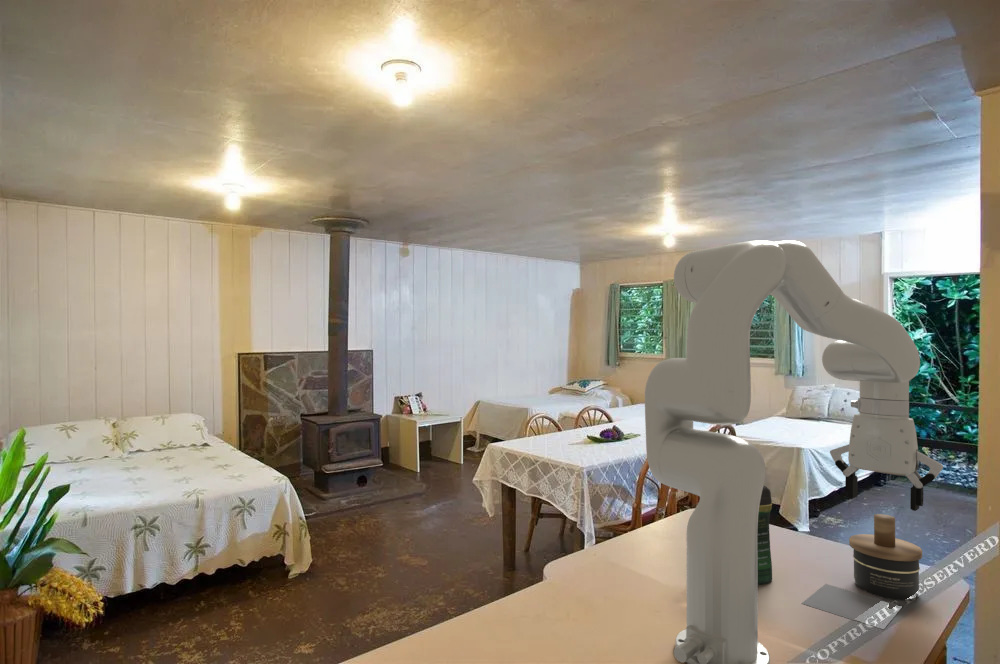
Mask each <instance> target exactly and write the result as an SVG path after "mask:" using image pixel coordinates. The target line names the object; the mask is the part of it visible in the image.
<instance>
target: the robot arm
mask: <svg viewBox="0 0 1000 664" xmlns="http://www.w3.org/2000/svg"><path fill="white" fill-rule="evenodd" d="M673 283H674V287H675V288H676V291H677V292H678V294H679V295H680V296H681V297H682V298H683V299H685V300H686V301H687V302H690V303H694V307H693V309H692V310H691V313H690V315H689V317H688V318H689V319H688V321H687V329H686V330H687V332H686V333H687V334H686V337H687V339H686V357H671V358H666V359H664V360H661V361H660V362H658V363H657V364H656V365H655V366H654V367H653V368H652V370H651V371H650V373H649V375H648V378H647V380H646V384H645V388H644V416H645V418H644V421H645V422H644V423H645V425H644V426H645V448H646V460H647V464H648V468H649V470H650V473H651V475H652V476H653V477H654V478H655V480H657V481H658V483H659V482H660V483H661V484H663V485H665V486H667V487H670V488H673V489H676V490H679V491H683V492H687V493H689V494H692V495H695V496H697V497H699V501H698V503H697V505H696V507H695V508H694V510H693V512H692V513H691V515H690V516H689V518H688V521H687V526H686V628H685V629H683V630H681V631H680V632H678V634H677V635H676V637H675V647H674V649H673V655H674V658H675V659H676V660H677V661H678V662H679V663H686V664H771V657H770V653H769V652H768V649H767V648H766V647H765V646H764V645H763V644H762V643H761V642H760V641H758V639H759V637H758V636H759V633H758V629H759V627H758V626H759V625H758V623H759V622H758V618H759V617H758V616H759V615H758V608H759V607H758V603H759V601H758V600H759V599H758V597H759V596H758V593H759V592H758V590H759V589H758V586H759V585H758V580H757V561H758V559H757V528H758V513H759V505H760V499H761V494H762V490H763V486H765V478H766V463H765V460H764V456H763V454H762V453H761V452H760V450H759V449H758V448H757V446H755V445H754V444H753V443H751V442H750V441H748V440H747V439H744V438H742V437H739V436H736V435H732V434H726V433H721V432H715V431H709V430H700V429H694V422H696V423H702V424H710V425H717V426H719V425H720V426H730V425H736V424H738V423H741V422H743V421H744V420H745V419H746V418H747V416H748V414H749V412H750V408H751V402H752V401H751V399H752V381H751V379H752V378H751V348H750V346H751V345H750V344H751V342H750V340H751V339H750V338H751V329H752V328H751V327H752V323H753V319H754V317H755V315H756V313H757V312H758V310H759V308H760V306H761V305H762V304H763V303H764V301H765V300H766V299H767V298H768V297H769V296H772V297H774V299H775V300H776V301H777V302H778V303H779V304H780V306H781V307H782V308H783V309H784V310H785V311H786V312H787V314H788V315H789V317H791V319H792V320H793V321H794V322H795V323H796V325H797V326H798V327H800V329H802V330H804V331H806V332H809V333H811V334H814V335H817V336H820V337H822V338H823V337H824V338H828V339H832V340H835V341H832V342H830V343H829V344H828V345H826V347H825V348H824V350H823V352H822V356H821V357H822V358H821V360H822V366H823V368H824V370H825V371H826V373H827V374H829V375H830V376H831V377H833V378H835V379H838V380H842V381H851V382H859V397H858V399H855V400H853V399H852V400H851V401H850V407H851V408H855V409H857V412H859V413H857V414H853V417H852V421H851V426H850V427H851V428H850V436H849V442H848V443H849V444H845V445H842V446H840V447H836V448H833V449H831V450H830V451H829V454H830V456H831V458H832V459H833V462H834V465H835V466H836V467H837V468H838V469H839V470H840V471H841V472H842V474H843V476H844V477H845V486H844V487H845V493H847V496H848V497H847V498H848V499H850V500H852V499H855V498H857V497H858V485H859V484H858V482H859V481H858V480H859V479H858V476H857V475H856V473H857V472H858V471H859V470H864V471H869V472H876V473H882V474H886V475H887V474H890V475H894V476H895V475H896V476H905V477H906V478H907V479H908V481H910V482H911V484H912V486H911V487H910V505H909V506H910V507H909V508H910V510H911V511H914V512H915V511H918V510H919V509H920V507H923V505H924V487H925V486H926V485H928V484H929V483H932V481H935V480H936V479H937V477H938V476H939V474H940V473H941V471H942V470H943V468H944V465H943V464H942V463H940V462H938V461H937V460H935V459H933V458H931V457H929V456H928V455H926V454H924V453H923V452H920V451H919V447H918V439H917V429H916V426H915V422H914V419H913V418H912V417H911V418H910V381H912V379H914V378H915V377H916V375H917V374H918V372H919V370H920V367H921V359H920V354H919V351H918V347H917V345H916V344H915V342H914V340H913V339H912V337H911V336H910V335H909V333H908V332H907V331H906V328H904V326H903V325H902V323H900V322H899V321H898V320H897V319H896V318H894V317H893V316H891V315H890V314H888V313H886V312H884V311H882V310H880V309H878V308H877V307H874V306H872V305H869V304H867V303H865V302H863V301H861V300H858V299H856V298H853V297H851V296H848V295H846V294H845V292H844V291H843V290H842V289H841V287H840V286H839V285H838V284H837V282H836V281H835V279H834V278H833V277H832V275H831V274H830V273H829V272H828V269H826V268H825V266H824V264H823V263H822V262H821V261H820V259H819V258H818V257H817V256H816V254H815V253H814V252H813V251H812V249H811V248H810V247H809V246H808V245H806V244H805V243H803V242H801V241H797V240H789V239H788V240H777V241H771V240H750V241H749V240H748V241H743V242H736V243H730V244H725V245H721V246H716V247H715V246H714V247H710V248H705V249H704V248H703V249H699V250H695V251H691V252H689V253H686V254H684V255H683V256H682V257H681V258H680V260H679V261H678V262H677V264H676V266H675V268H674V272H673ZM845 453H847V454H848V457H847V458H848V464H847V462H845V461H844V459H843V457H842V455H843V454H845ZM919 463H922V464H924V465H926V466H927V467H929V471H927V473H926V474H925V475H924V476H922V475H920V473H919V472H918V470H919Z"/></svg>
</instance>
